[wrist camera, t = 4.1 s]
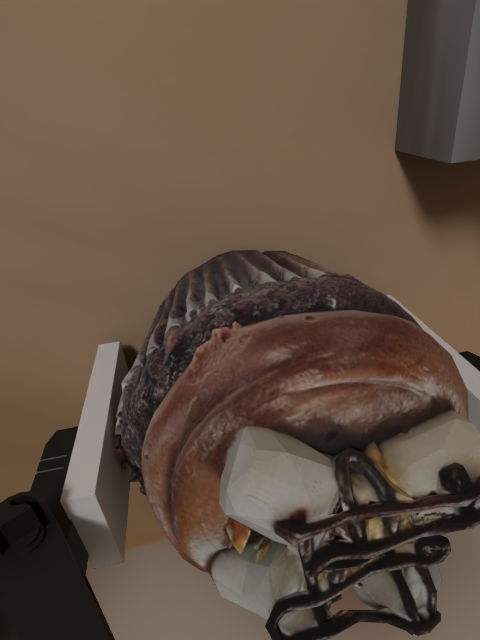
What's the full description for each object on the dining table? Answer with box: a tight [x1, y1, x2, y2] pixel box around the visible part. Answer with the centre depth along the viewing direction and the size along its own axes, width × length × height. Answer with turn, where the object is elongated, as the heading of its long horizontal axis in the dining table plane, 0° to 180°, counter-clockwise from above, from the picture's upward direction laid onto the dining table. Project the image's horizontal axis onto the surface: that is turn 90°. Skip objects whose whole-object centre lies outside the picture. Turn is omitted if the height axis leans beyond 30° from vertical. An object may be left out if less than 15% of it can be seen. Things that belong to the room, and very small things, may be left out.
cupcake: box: [114, 250, 480, 640], centre depth 12 cm, size 10×10×10 cm
